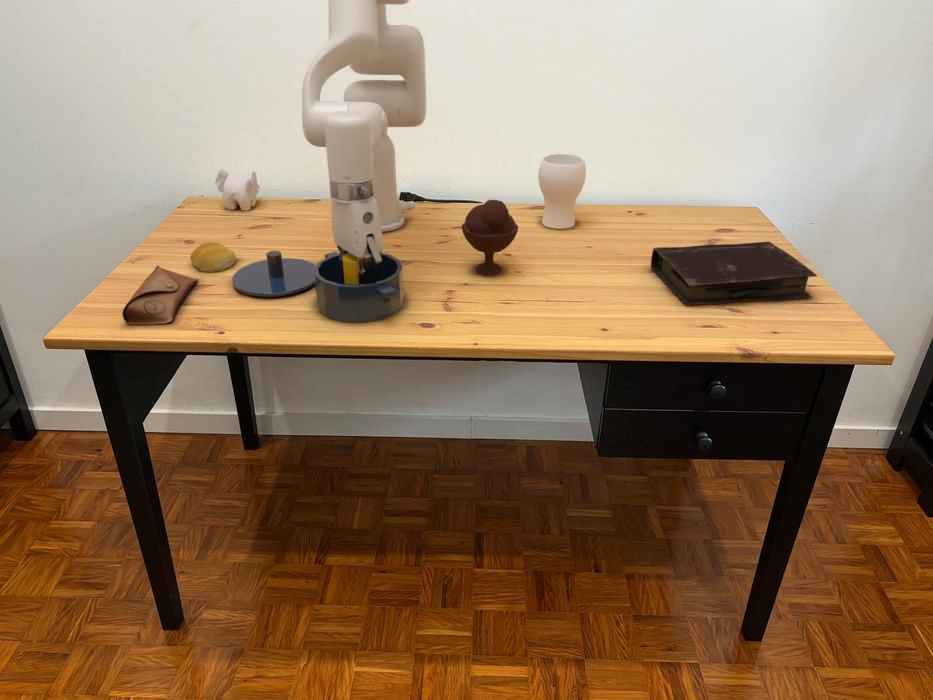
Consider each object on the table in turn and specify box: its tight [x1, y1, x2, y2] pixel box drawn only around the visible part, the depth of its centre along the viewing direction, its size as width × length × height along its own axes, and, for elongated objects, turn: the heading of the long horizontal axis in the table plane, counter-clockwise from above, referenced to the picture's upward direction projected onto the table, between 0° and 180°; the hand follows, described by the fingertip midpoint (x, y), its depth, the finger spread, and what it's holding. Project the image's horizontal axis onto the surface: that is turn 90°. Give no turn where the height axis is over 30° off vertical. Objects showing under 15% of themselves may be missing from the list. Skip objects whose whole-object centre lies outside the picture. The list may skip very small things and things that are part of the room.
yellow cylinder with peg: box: [342, 252, 369, 285], centre depth 130 cm, size 5×5×7 cm
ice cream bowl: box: [461, 199, 519, 277], centre depth 142 cm, size 11×11×15 cm
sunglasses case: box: [121, 264, 199, 326], centre depth 132 cm, size 18×7×7 cm
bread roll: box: [190, 241, 236, 273], centre depth 147 cm, size 8×9×4 cm
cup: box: [537, 153, 587, 230], centre depth 166 cm, size 11×11×15 cm
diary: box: [650, 241, 818, 305], centre depth 141 cm, size 19×25×5 cm
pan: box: [313, 251, 405, 324], centre depth 132 cm, size 16×21×7 cm
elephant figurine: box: [214, 169, 261, 212], centre depth 176 cm, size 10×12×9 cm
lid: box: [231, 250, 317, 297], centre depth 140 cm, size 17×17×6 cm
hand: (359, 285), depth 131 cm, fingers closed on yellow cylinder with peg, 5 cm apart
